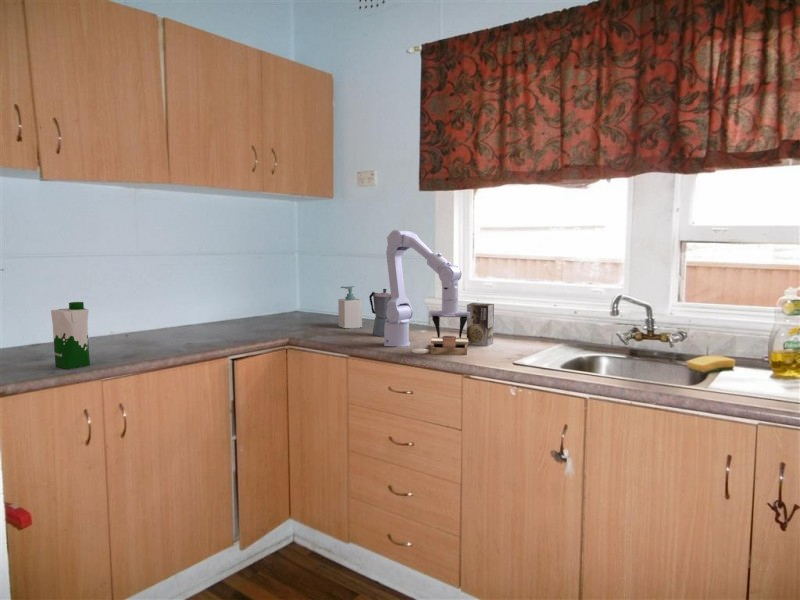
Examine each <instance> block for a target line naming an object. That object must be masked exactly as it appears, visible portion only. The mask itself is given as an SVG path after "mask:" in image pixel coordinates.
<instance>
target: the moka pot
mask: <svg viewBox="0 0 800 600" xmlns="http://www.w3.org/2000/svg"><path fill="white" fill-rule="evenodd" d="M368 297H369V303H370V307H371V312H372V314H374V315H375V318H374V323H373V328H372V335H373V336H376V337H383V338H384V328H385V322H389V320H388V318H387V316H386V311H387V303H388V302H389V300H390V299H391V293H389V292H387V288H383V289H382V292H375V291H371V293H370V295H369V296H368Z"/></svg>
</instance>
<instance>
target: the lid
mask: <svg viewBox="0 0 800 600" xmlns="http://www.w3.org/2000/svg"><path fill="white" fill-rule="evenodd" d="M432 343H436V344H443V339H442V336H440V337H438V336H432V337H431V340H430V344H432ZM456 344H467V345H469V344H468V338H467V337H461V338H459V337H456Z"/></svg>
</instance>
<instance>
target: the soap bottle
mask: <svg viewBox="0 0 800 600" xmlns="http://www.w3.org/2000/svg"><path fill="white" fill-rule="evenodd" d="M353 288H355V286H354V285H351V286H340V289H347V291H348V293H346V296H345V297H344V298H338V300H337V301H338V304H337V305H338V327H340V328H342V329H344V328H350V329H361V328H360V327H362V328H363V300H362V299H358V298H356V297H355V296H354V293H352V291H353Z"/></svg>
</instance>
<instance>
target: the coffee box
mask: <svg viewBox="0 0 800 600" xmlns="http://www.w3.org/2000/svg"><path fill="white" fill-rule="evenodd" d="M494 306H495V304H494V303H486V302H485V303H484V302H482V303H481V302H471V303H468V304H466V312H470V318H467V321H466V338H468V344H467V345H473V346H483V347H484V346H485V347H489V346H491V345H494V319H495V318H494V315H495V314H494V313H495V311H494V310H495V307H494Z"/></svg>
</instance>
